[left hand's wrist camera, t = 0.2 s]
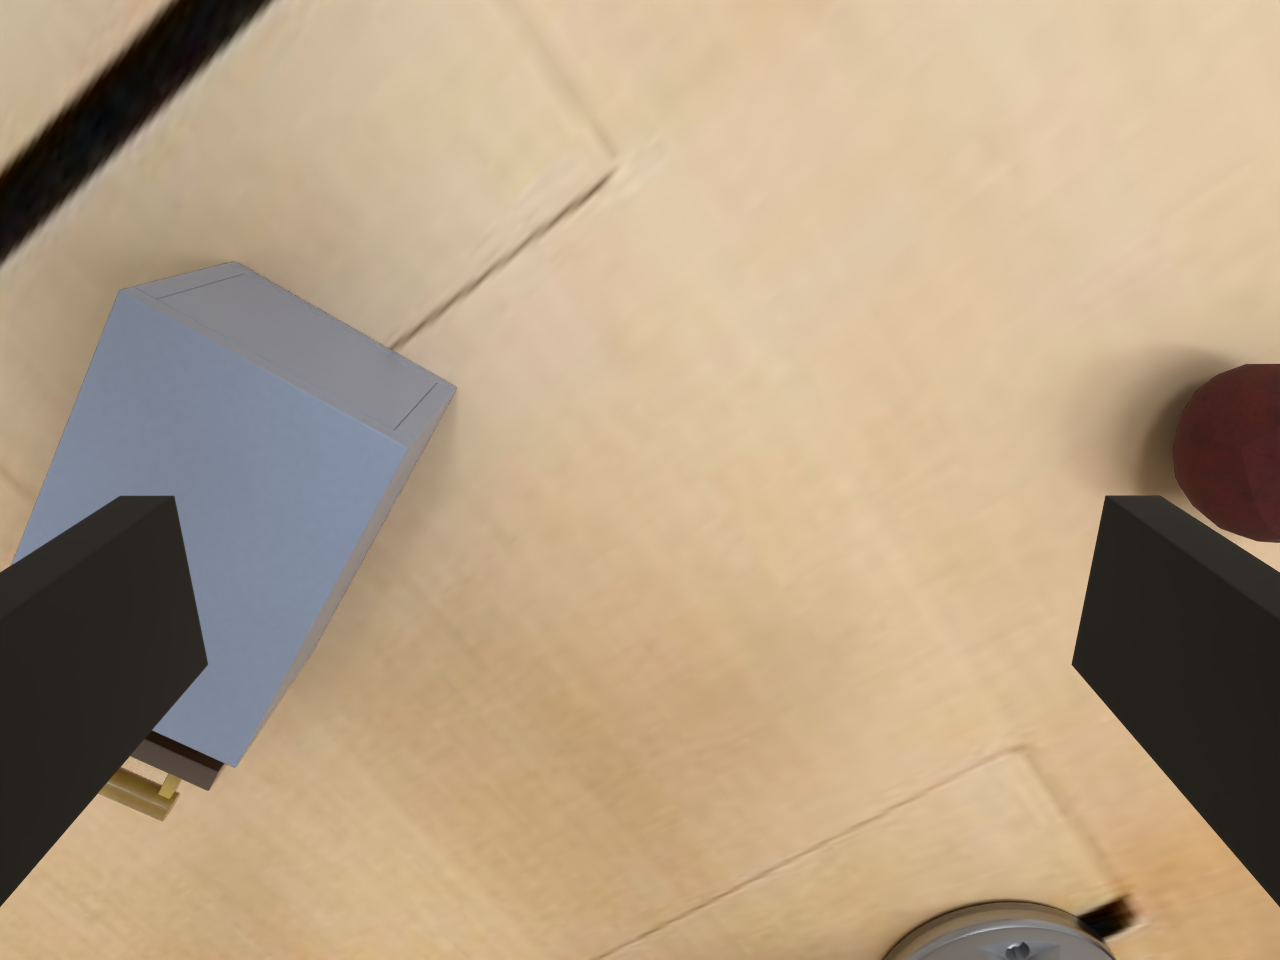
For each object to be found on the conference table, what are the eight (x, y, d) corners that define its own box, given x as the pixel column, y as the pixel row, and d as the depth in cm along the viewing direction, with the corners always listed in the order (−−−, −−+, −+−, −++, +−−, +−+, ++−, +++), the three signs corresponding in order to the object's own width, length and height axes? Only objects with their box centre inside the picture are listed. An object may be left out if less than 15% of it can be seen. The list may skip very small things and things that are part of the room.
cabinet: (311, 654, 45) (235, 768, 36) (107, 554, 43) (-24, 651, 34) (457, 387, 40) (408, 448, 31) (234, 260, 38) (118, 289, 29)
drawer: (235, 767, 46) (166, 870, 40) (56, 686, 44) (-47, 779, 38) (404, 454, 40) (357, 513, 33) (205, 345, 38) (113, 385, 32)
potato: (1176, 529, 42) (1275, 598, 36) (1112, 403, 40) (1206, 450, 33) (1323, 449, 41) (1456, 505, 34) (1266, 313, 39) (1395, 345, 32)
